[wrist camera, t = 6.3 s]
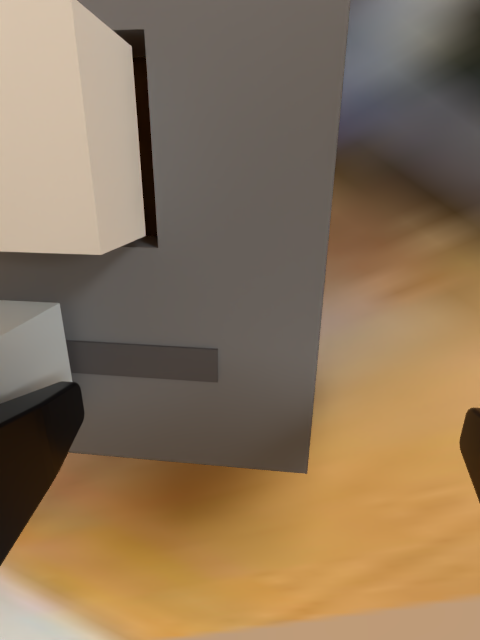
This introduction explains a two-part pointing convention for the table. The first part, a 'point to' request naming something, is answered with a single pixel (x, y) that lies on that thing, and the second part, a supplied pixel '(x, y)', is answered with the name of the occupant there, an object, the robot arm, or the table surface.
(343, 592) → the table surface
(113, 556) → the table surface
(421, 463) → the table surface
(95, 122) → the off-white button
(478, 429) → the robot arm
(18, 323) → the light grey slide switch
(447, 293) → the table surface
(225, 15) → the control panel
